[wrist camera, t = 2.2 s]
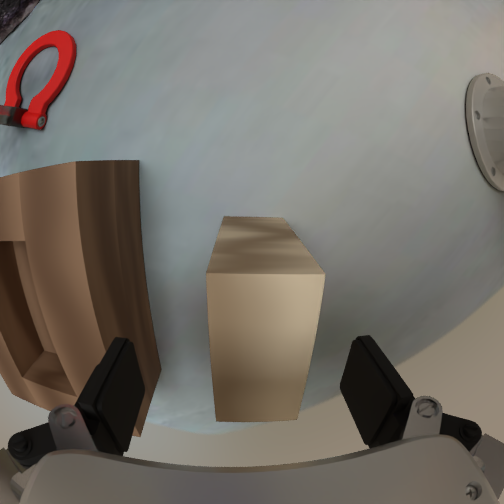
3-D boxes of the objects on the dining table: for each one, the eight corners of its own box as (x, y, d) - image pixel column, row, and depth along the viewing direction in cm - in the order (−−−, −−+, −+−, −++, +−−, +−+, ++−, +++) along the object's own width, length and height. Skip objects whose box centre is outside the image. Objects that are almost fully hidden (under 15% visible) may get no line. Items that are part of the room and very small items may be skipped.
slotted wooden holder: (138, 160, 17) (75, 161, 9) (161, 369, 22) (140, 437, 15) (11, 179, 16) (-52, 194, 8) (47, 348, 22) (12, 394, 14)
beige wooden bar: (282, 217, 18) (325, 274, 9) (274, 324, 21) (295, 424, 12) (223, 216, 18) (206, 273, 9) (224, 323, 21) (216, 426, 11)
